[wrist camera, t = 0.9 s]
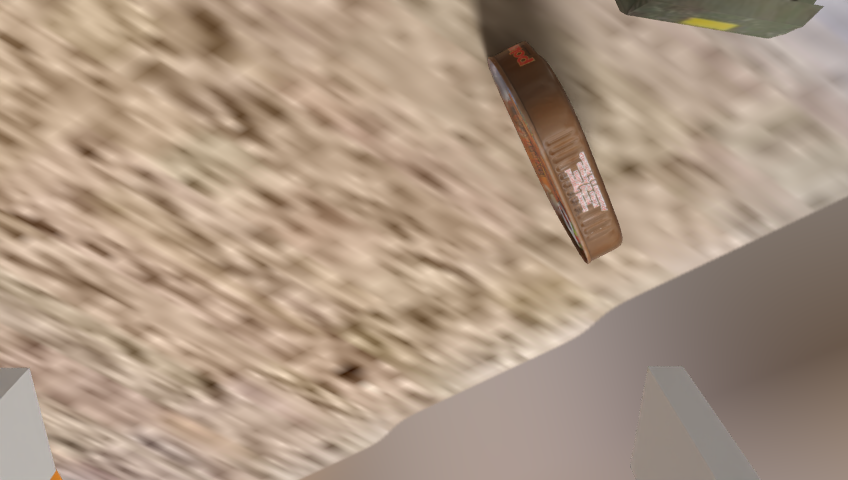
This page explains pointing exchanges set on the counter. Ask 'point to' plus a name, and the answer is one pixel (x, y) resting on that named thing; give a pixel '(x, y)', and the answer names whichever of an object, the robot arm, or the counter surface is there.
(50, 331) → the counter surface
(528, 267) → the counter surface
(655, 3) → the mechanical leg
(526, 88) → the tin
